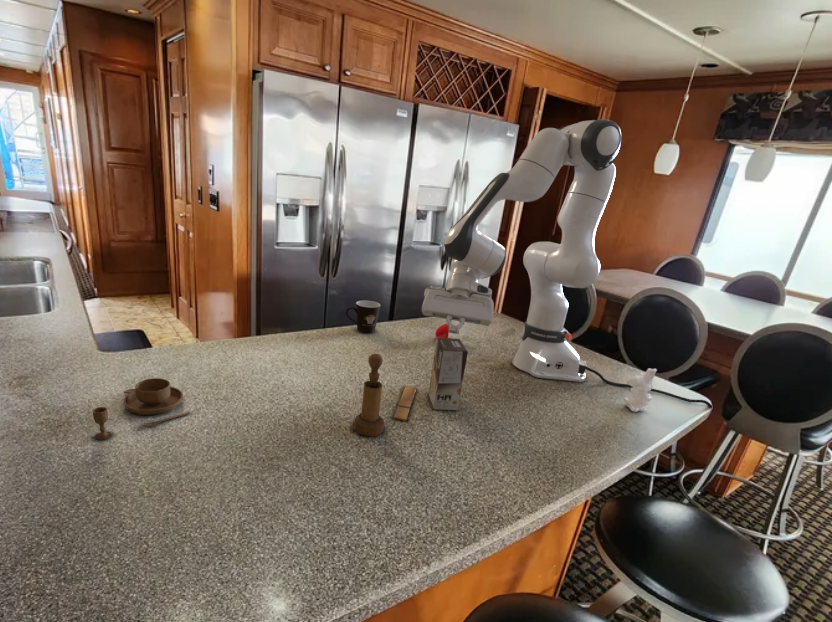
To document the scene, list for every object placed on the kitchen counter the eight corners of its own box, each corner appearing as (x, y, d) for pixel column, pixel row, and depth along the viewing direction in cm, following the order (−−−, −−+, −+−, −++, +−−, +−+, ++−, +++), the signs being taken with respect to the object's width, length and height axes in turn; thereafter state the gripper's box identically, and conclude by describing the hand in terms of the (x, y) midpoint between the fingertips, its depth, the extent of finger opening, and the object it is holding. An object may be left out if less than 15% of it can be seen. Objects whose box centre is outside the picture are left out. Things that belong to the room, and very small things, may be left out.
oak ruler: (416, 389, 124) (416, 387, 123) (405, 421, 107) (406, 419, 107) (405, 387, 124) (405, 385, 124) (393, 418, 108) (393, 416, 107)
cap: (440, 343, 160) (443, 327, 157) (431, 337, 165) (433, 322, 162) (459, 342, 163) (461, 326, 161) (449, 336, 168) (452, 320, 166)
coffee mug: (378, 328, 169) (381, 302, 165) (376, 335, 161) (379, 308, 157) (347, 324, 169) (349, 298, 166) (343, 331, 161) (345, 304, 158)
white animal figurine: (634, 401, 130) (647, 363, 126) (656, 413, 125) (670, 373, 120) (614, 405, 127) (626, 365, 123) (635, 416, 121) (649, 376, 117)
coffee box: (458, 411, 114) (469, 351, 109) (433, 409, 114) (443, 350, 108) (450, 394, 123) (460, 338, 117) (427, 393, 122) (435, 336, 116)
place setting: (199, 412, 102) (197, 388, 100) (99, 443, 88) (95, 416, 86) (164, 383, 112) (163, 361, 110) (70, 407, 98) (66, 382, 96)
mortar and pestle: (387, 425, 104) (395, 353, 98) (377, 439, 99) (386, 363, 92) (360, 418, 106) (366, 346, 100) (349, 431, 100) (355, 356, 94)
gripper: (426, 279, 132) (416, 320, 126) (497, 290, 129) (491, 333, 123) (425, 291, 138) (416, 331, 132) (494, 302, 134) (488, 343, 129)
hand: (453, 332), depth 128 cm, fingers closed
